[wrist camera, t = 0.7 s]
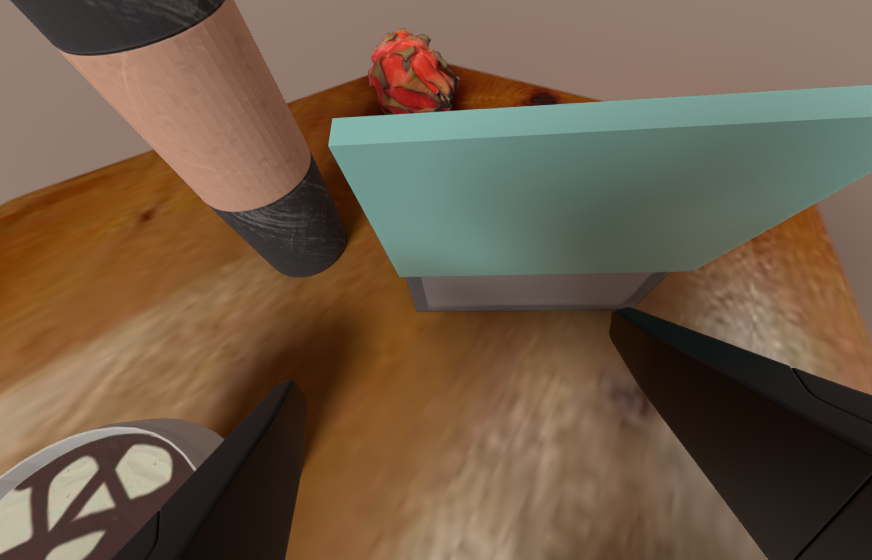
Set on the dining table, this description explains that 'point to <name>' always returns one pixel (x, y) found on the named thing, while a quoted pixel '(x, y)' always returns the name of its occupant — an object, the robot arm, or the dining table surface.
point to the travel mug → (205, 115)
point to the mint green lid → (599, 179)
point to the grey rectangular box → (532, 291)
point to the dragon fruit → (410, 75)
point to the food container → (97, 488)
